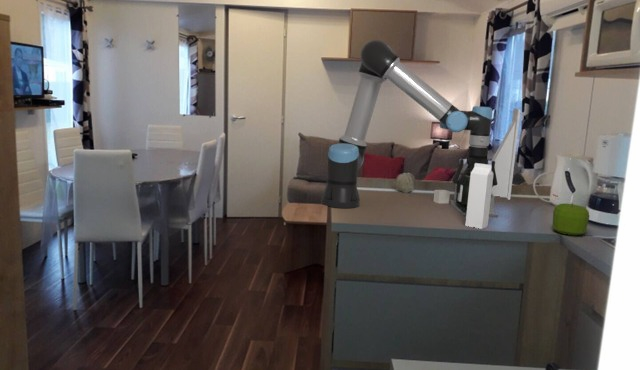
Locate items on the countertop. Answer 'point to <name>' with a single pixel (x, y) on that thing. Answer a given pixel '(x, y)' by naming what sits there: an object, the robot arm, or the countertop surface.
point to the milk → (479, 196)
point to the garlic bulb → (405, 182)
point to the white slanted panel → (506, 159)
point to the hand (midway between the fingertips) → (472, 201)
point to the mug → (465, 189)
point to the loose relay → (441, 196)
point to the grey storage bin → (463, 208)
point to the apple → (570, 219)
